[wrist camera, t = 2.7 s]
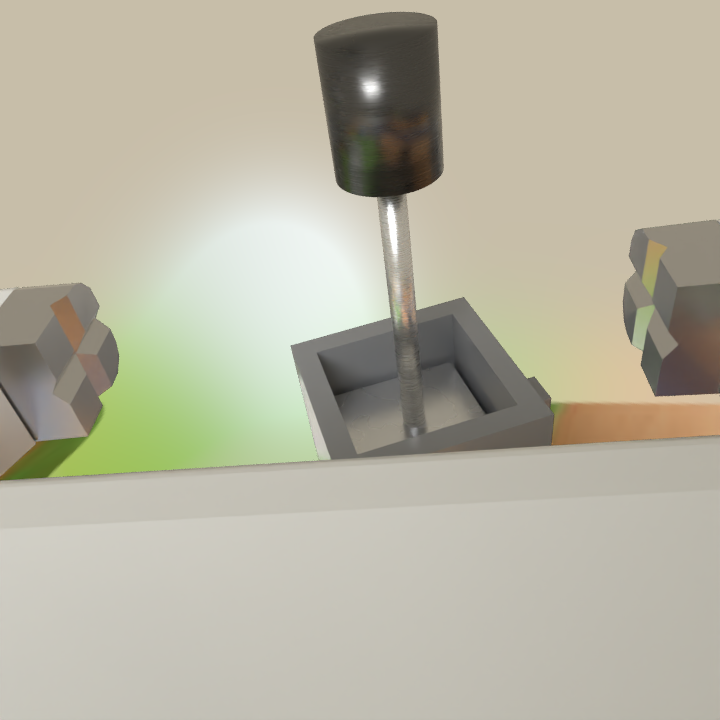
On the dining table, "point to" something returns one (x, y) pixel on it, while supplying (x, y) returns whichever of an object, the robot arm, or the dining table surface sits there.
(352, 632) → the robot arm
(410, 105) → the dark cylinder rod
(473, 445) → the gray open square box
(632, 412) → the dining table surface
